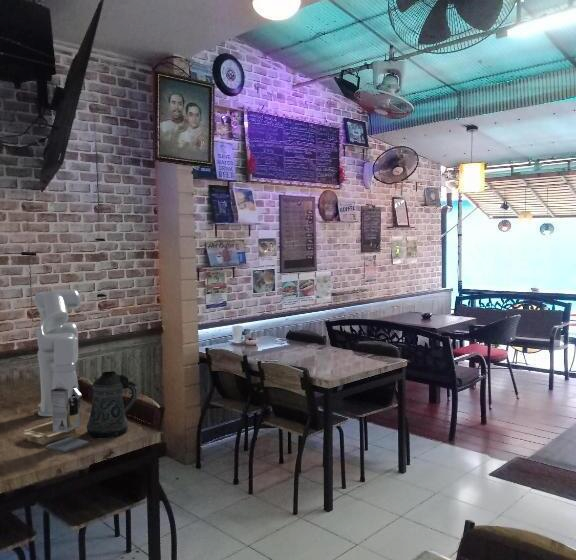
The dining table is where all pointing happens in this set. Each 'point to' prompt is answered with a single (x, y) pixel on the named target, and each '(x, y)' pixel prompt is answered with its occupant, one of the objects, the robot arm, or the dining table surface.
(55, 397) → the coffee box
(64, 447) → the trivet
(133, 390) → the beer stein
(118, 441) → the dining table surface
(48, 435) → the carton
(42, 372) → the robot arm
